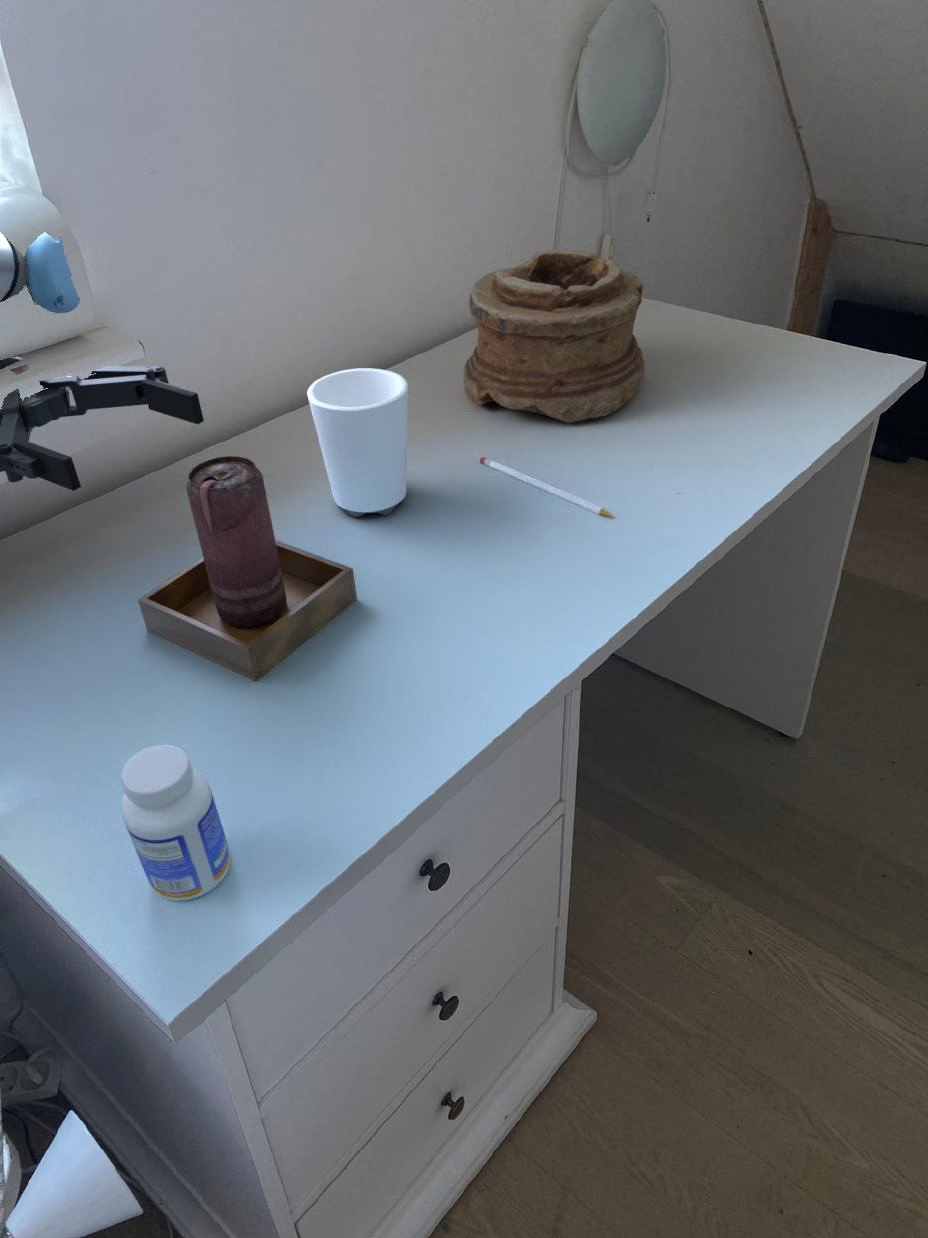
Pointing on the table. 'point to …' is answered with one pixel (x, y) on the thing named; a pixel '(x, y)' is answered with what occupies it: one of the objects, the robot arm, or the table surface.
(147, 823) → the pill bottle
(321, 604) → the tray
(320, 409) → the cup
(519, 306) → the container
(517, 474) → the pencil
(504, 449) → the table surface
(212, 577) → the can
